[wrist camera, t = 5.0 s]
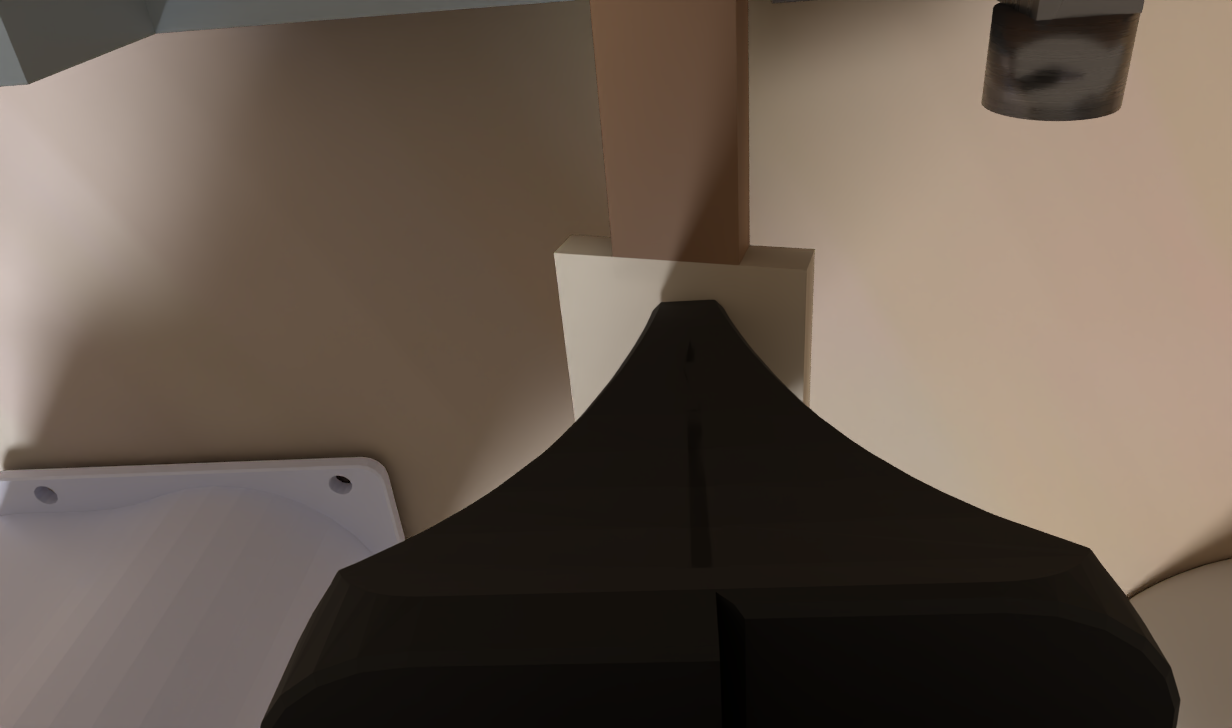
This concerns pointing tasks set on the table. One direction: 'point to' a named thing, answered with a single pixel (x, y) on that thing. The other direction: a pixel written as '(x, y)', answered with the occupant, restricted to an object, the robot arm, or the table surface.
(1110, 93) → the stand
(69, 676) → the robot arm
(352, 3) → the grey open box
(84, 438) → the table surface
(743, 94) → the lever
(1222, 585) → the mug
